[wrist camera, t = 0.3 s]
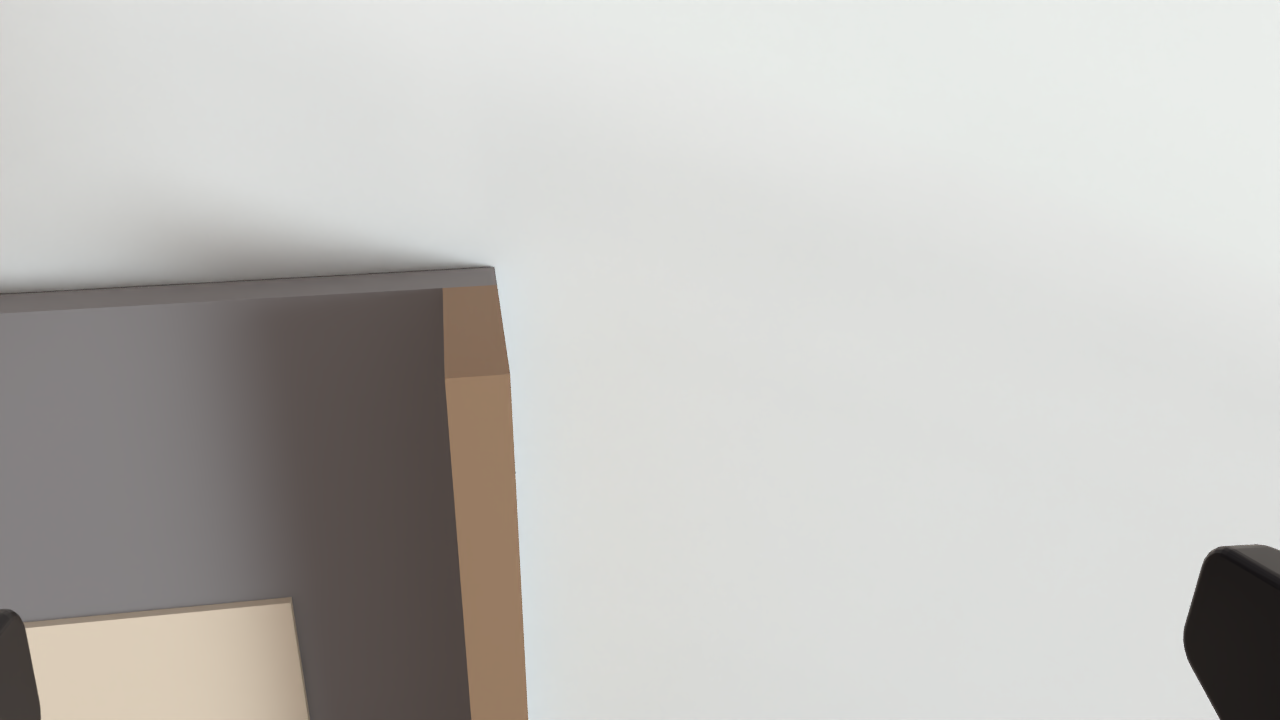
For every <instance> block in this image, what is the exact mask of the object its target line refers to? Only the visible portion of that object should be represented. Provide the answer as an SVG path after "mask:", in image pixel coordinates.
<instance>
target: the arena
mask: <svg viewBox="0 0 1280 720" xmlns="http://www.w3.org/2000/svg"><path fill="white" fill-rule="evenodd" d="M0 609H11V610H13V611H14V612H16V613H17V614H18V615H19V616H20V618H21V619H22V621H23V623H24V626H25V630H26V634H27V639H28V644H29V650H30V655H31V660H32V665H33V670H34V675H35V680H36V685H37V691H38V696H39V701H40V708H41V720H528V710H527V691H526V672H525V652H524V633H523V614H522V595H521V576H520V557H519V538H518V518H517V499H516V480H515V461H514V442H513V423H512V404H511V385H510V371H509V364H508V357H507V351H506V344H505V337H504V330H503V323H502V317H501V310H500V303H499V296H498V289H497V282H496V276H495V269H494V267H487V268H469V269H451V270H433V271H415V272H396V273H378V274H360V275H342V276H324V277H306V278H288V279H270V280H252V281H234V282H216V283H198V284H180V285H162V286H144V287H126V288H108V289H90V290H72V291H54V292H36V293H18V294H0Z"/></svg>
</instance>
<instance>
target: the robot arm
mask: <svg viewBox="0 0 1280 720" xmlns="http://www.w3.org/2000/svg"><path fill="white" fill-rule="evenodd" d="M1183 641H1184V649H1185V652H1186V656H1187V659H1188V661H1189V663H1190V665H1191V667H1192V669H1193V671H1194V673H1195V674H1196V676H1197V678H1198V680H1199V682H1200V684H1201V685H1202V687H1203V689H1204V691H1205V693H1206V695H1207V697H1208V698H1209V700H1210V702H1211V704H1212V706H1213V708H1214V709H1215V711H1216V713H1217V715H1218V717H1219V719H1220V720H1280V550H1277V549H1275V548H1272V547H1269V546H1266V545H1258V544H1254V545H1236V546H1221V547H1218V548H1216V549H1214V550H1212V551H1211V552H1210V553H1209V554H1208V555H1207V556H1206V558H1205V559H1204V562H1203V564H1202V567H1201V571H1200V574H1199V578H1198V581H1197V585H1196V588H1195V592H1194V595H1193V599H1192V602H1191V606H1190V609H1189V613H1188V616H1187V619H1186V623H1185V627H1184V635H1183ZM0 720H41V708H40V701H39V696H38V691H37V685H36V680H35V675H34V670H33V665H32V660H31V655H30V650H29V644H28V639H27V634H26V630H25V626H24V623H23V621H22V619H21V618H20V616H19V615H18V614H17V613H16V612H14V611H13V610H11V609H0Z"/></svg>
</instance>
